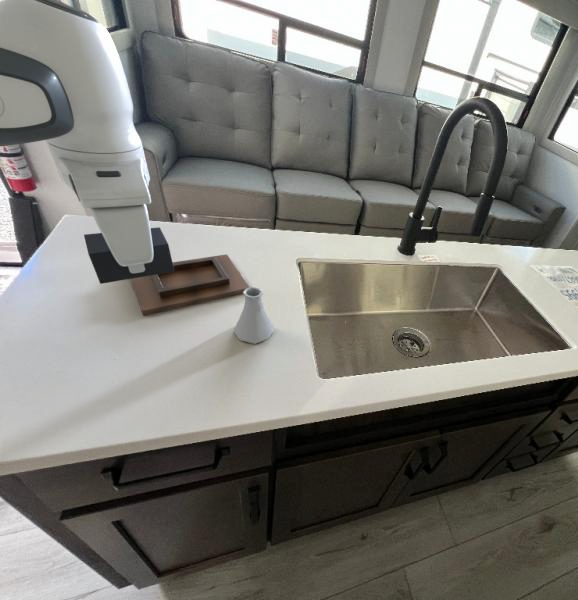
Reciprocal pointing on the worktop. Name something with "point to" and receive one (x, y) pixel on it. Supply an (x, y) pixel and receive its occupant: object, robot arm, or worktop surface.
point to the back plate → (189, 284)
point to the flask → (253, 318)
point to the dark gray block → (113, 271)
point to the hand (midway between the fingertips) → (132, 258)
